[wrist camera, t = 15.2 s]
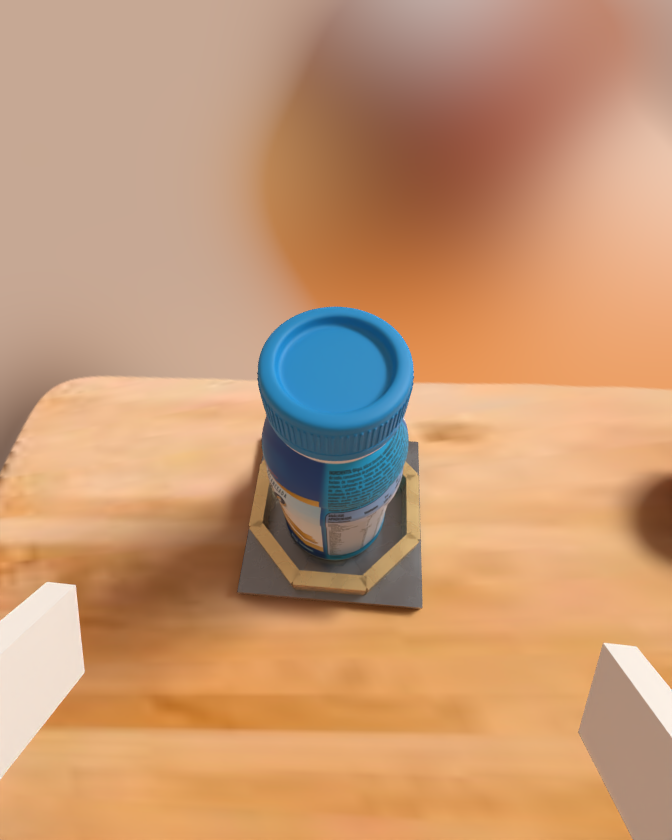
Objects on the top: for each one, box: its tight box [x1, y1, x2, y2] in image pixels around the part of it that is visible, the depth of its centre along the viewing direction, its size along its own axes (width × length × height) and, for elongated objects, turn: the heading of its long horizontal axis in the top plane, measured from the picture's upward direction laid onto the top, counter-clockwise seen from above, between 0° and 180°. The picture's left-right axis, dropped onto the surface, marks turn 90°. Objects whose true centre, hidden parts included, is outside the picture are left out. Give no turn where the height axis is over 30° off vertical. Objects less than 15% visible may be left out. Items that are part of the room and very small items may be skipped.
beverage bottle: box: [257, 307, 414, 560], centre depth 26 cm, size 8×8×20 cm
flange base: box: [237, 441, 422, 609], centre depth 34 cm, size 14×14×4 cm
